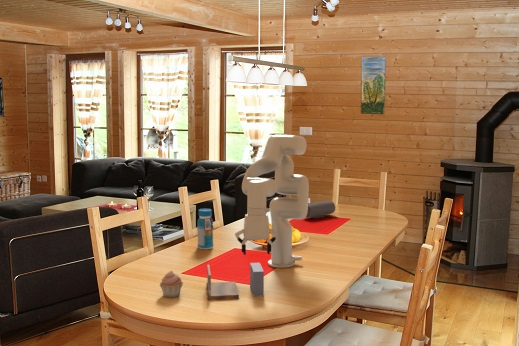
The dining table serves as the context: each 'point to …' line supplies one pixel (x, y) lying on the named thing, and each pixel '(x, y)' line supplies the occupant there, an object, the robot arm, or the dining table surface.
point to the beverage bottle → (205, 229)
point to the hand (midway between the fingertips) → (256, 253)
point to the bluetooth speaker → (320, 209)
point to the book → (257, 279)
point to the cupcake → (171, 285)
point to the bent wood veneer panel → (220, 289)
